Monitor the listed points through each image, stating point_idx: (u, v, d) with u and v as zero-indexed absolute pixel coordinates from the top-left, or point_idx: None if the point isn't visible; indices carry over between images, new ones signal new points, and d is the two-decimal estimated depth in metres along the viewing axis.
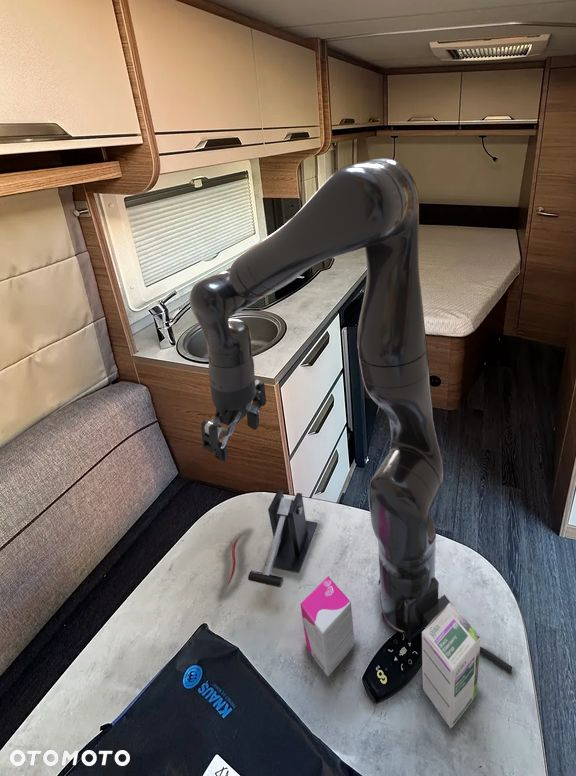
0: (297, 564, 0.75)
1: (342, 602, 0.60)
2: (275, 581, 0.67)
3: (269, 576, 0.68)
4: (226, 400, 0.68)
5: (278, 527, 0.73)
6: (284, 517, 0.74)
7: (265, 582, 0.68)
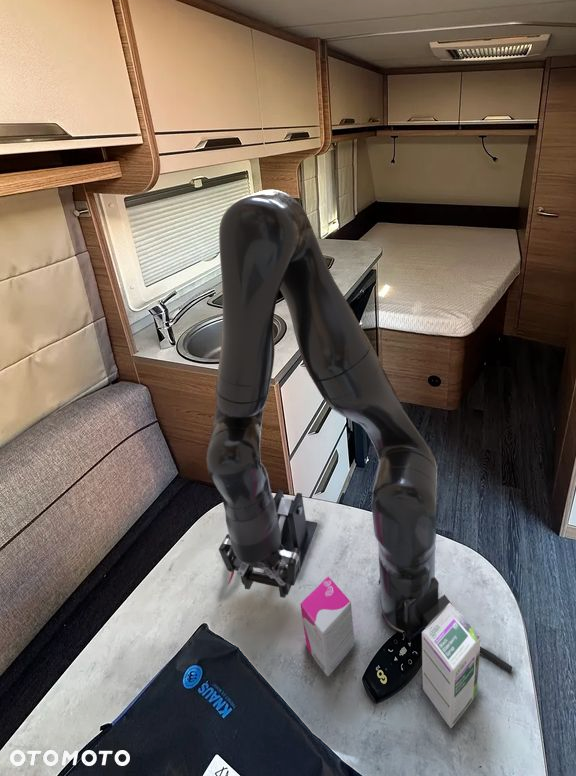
0: None
1: (342, 602, 0.60)
2: (275, 581, 0.67)
3: None
4: (278, 524, 0.65)
5: None
6: (284, 517, 0.74)
7: (265, 582, 0.68)
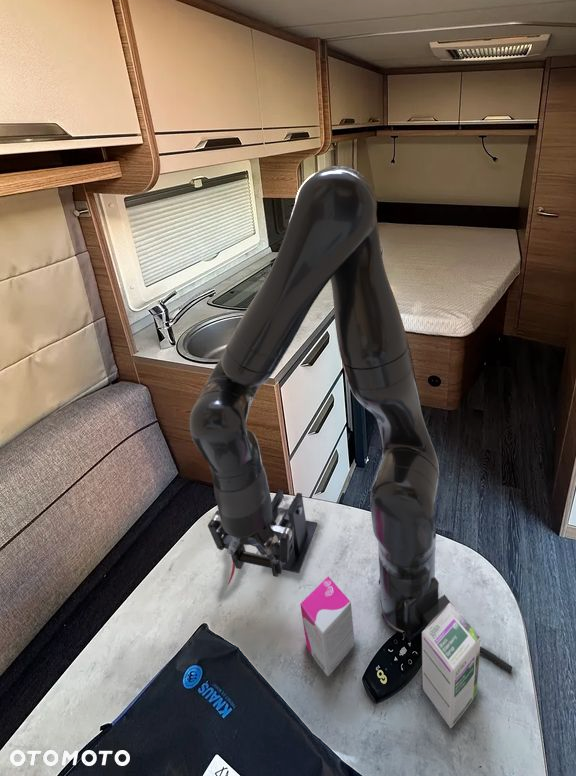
0: (297, 564, 0.75)
1: (342, 602, 0.60)
2: (268, 559, 0.65)
3: None
4: (270, 498, 0.61)
5: (277, 519, 0.72)
6: (284, 512, 0.74)
7: (257, 560, 0.65)
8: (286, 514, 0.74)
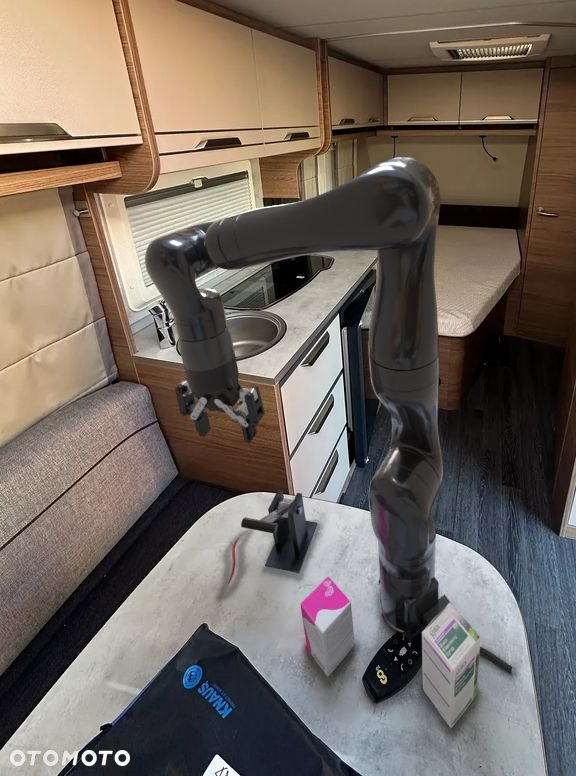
0: (297, 564, 0.75)
1: (342, 602, 0.60)
2: (271, 523, 0.65)
3: (265, 521, 0.66)
4: (236, 363, 0.63)
5: (278, 509, 0.73)
6: (285, 507, 0.74)
7: (260, 523, 0.65)
8: (286, 510, 0.74)
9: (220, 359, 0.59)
